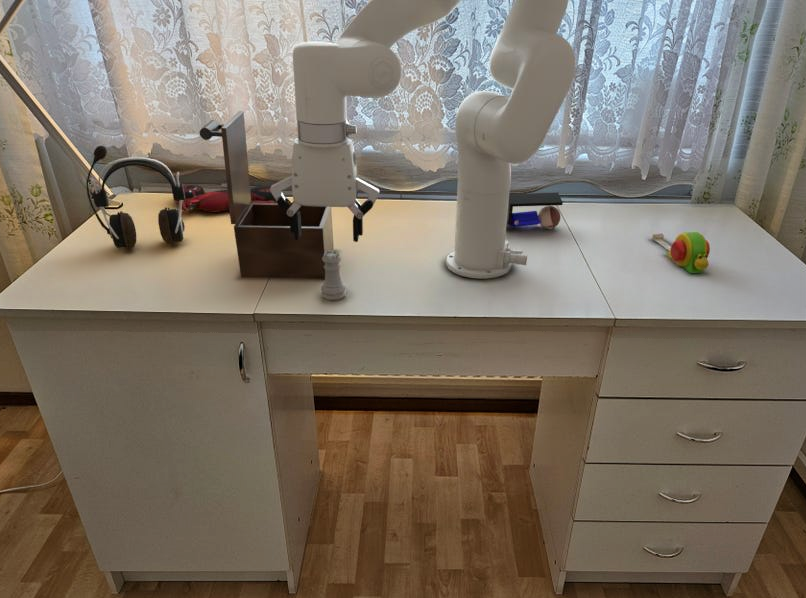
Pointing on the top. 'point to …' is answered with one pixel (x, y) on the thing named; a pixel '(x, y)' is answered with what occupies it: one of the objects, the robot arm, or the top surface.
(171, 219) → the headset
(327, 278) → the rook chess piece
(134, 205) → the top surface
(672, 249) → the toy measuring tape
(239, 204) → the box lid
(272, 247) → the toy chest
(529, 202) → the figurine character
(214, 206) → the toy motorcycle
